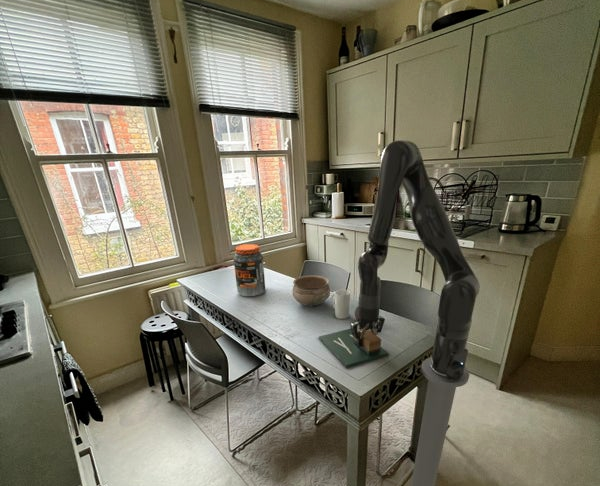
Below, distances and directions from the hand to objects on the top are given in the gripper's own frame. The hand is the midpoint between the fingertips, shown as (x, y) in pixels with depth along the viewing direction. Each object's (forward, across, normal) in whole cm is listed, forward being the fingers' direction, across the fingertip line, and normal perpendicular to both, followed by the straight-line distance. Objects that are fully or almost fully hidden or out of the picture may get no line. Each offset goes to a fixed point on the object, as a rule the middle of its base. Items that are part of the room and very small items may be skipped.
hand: (366, 344), depth 120 cm
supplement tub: (+3, -24, +77) cm, 81 cm away
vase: (+3, +11, +20) cm, 23 cm away
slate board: (+2, -4, +4) cm, 6 cm away
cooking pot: (+3, -1, +47) cm, 47 cm away
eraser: (+1, 0, 0) cm, 1 cm away
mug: (+3, +5, +30) cm, 31 cm away
